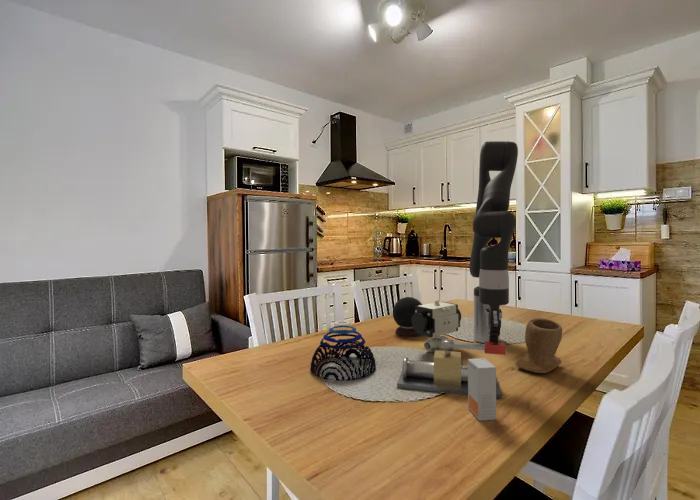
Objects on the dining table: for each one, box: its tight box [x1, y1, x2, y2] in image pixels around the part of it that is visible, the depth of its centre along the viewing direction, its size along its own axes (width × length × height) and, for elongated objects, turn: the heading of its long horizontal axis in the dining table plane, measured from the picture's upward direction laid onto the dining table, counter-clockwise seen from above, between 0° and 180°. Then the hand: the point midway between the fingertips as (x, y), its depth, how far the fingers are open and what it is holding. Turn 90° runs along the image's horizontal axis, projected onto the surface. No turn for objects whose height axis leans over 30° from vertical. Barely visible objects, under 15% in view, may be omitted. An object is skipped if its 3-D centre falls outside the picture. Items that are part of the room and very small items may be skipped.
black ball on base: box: [392, 296, 423, 338], centre depth 151 cm, size 13×13×15 cm
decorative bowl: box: [310, 320, 377, 382], centre depth 113 cm, size 20×20×14 cm
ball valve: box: [412, 299, 462, 353], centre depth 128 cm, size 18×8×18 cm, turn 124°
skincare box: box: [467, 357, 497, 422], centre depth 83 cm, size 6×4×12 cm
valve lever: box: [442, 338, 506, 356], centre depth 98 cm, size 16×3×2 cm, turn 72°
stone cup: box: [514, 317, 563, 374], centre depth 110 cm, size 15×12×15 cm
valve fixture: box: [396, 350, 502, 400], centre depth 100 cm, size 12×26×10 cm, turn 73°
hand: (493, 348), depth 99 cm, fingers closed
